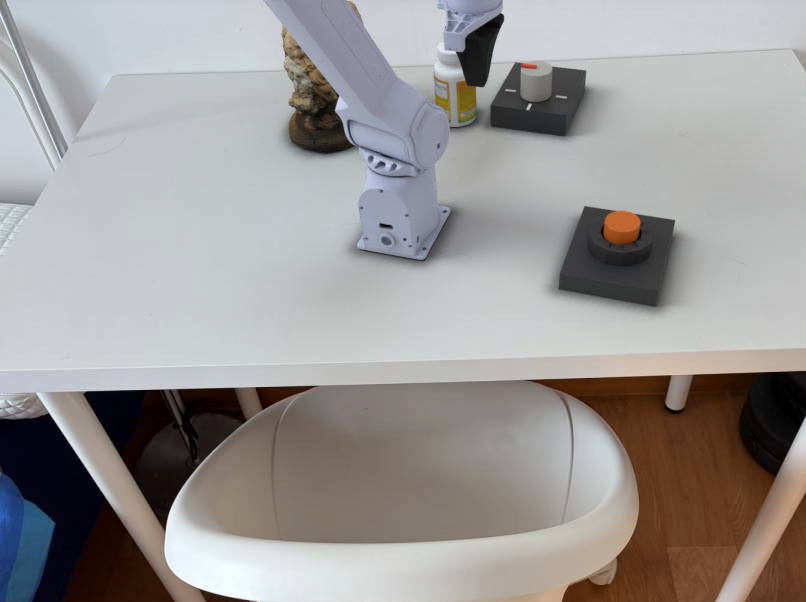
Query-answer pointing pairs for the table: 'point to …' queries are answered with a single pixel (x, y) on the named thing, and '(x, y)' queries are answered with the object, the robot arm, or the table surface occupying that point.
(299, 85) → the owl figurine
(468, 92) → the supplement bottle
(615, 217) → the button
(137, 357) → the table surface
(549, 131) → the timer panel
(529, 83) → the timer dial
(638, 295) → the housing
